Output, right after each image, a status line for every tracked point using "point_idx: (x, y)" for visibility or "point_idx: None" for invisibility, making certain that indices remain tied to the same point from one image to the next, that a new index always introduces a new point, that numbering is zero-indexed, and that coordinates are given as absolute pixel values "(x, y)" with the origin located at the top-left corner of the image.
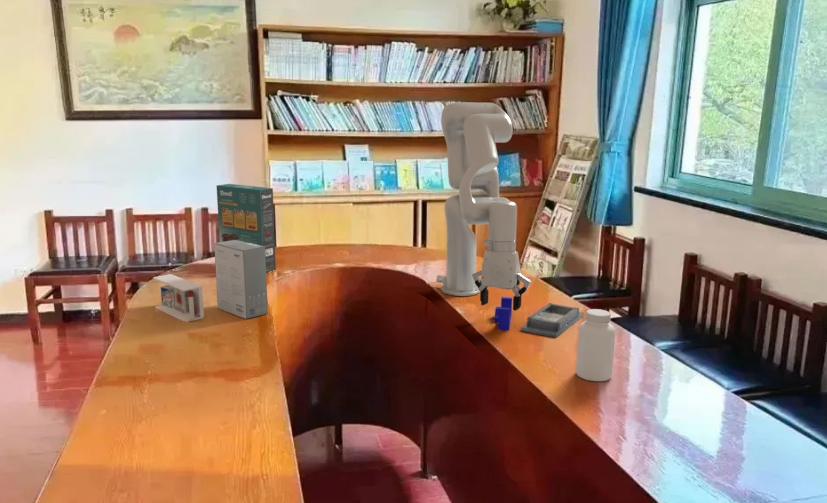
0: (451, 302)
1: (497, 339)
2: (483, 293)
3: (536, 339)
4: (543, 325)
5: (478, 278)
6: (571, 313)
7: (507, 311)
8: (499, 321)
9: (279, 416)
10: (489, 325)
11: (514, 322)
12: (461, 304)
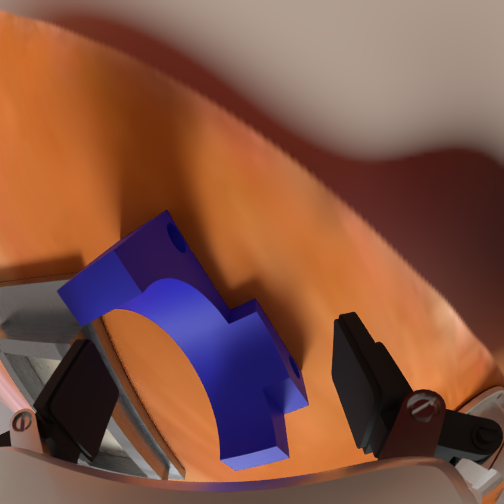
0: (482, 356)
1: (90, 87)
2: (374, 386)
3: (4, 222)
4: (28, 329)
5: (483, 480)
6: None
7: (73, 277)
8: (144, 225)
9: None
10: (244, 238)
11: (178, 351)
12: (456, 367)
